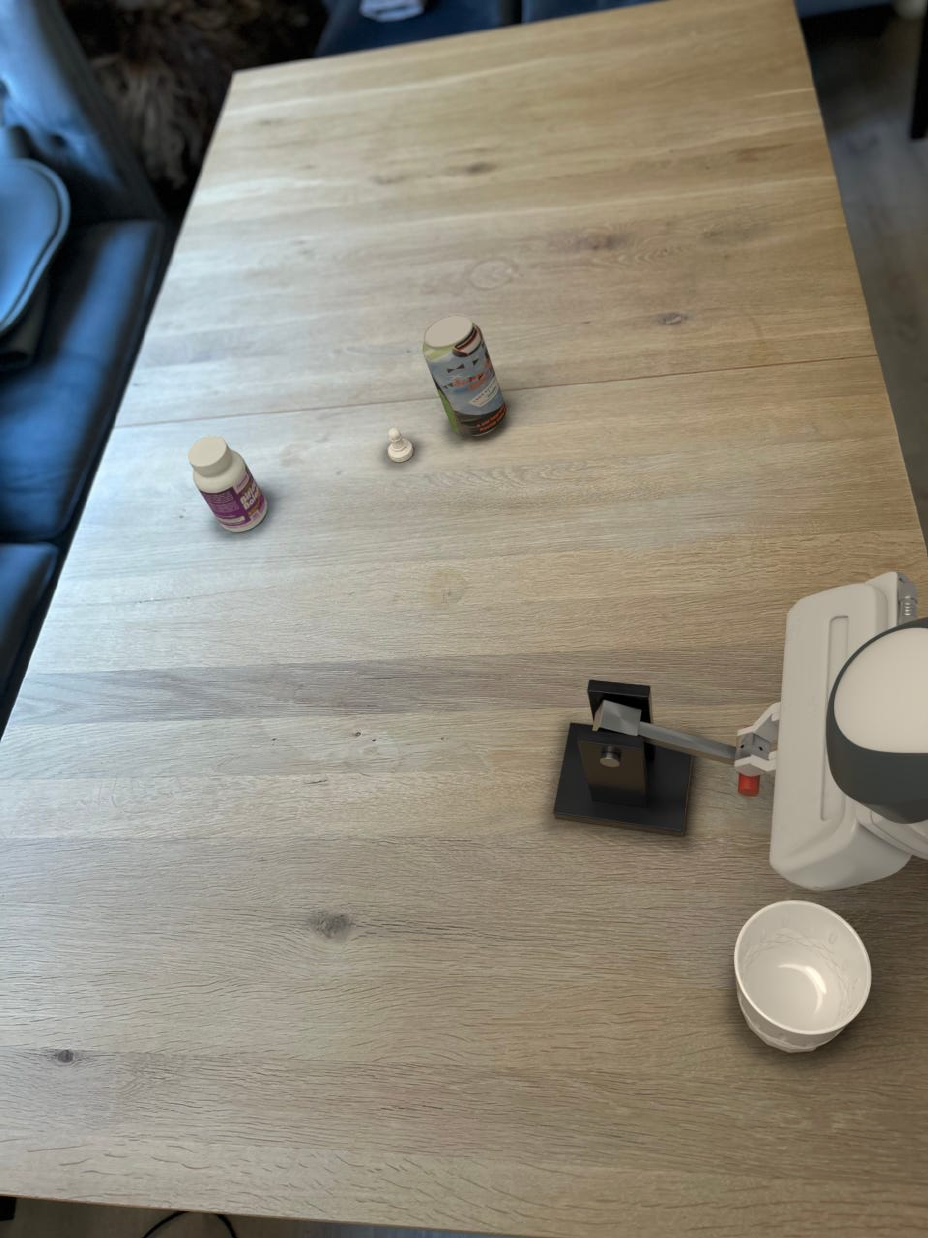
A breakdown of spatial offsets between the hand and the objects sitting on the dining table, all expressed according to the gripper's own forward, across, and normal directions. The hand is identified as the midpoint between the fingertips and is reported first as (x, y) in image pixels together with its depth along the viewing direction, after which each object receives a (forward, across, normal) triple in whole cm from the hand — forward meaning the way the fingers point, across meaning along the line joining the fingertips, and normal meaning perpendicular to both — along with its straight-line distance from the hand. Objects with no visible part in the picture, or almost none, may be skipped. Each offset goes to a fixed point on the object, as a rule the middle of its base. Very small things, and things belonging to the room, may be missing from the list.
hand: (741, 754), depth 70 cm
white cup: (+3, +14, +9) cm, 17 cm away
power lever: (+4, 0, -3) cm, 5 cm away
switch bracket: (+12, 0, 0) cm, 12 cm away
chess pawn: (+32, -33, -20) cm, 50 cm away
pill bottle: (+42, -24, -31) cm, 58 cm away
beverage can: (+27, -38, -15) cm, 49 cm away
